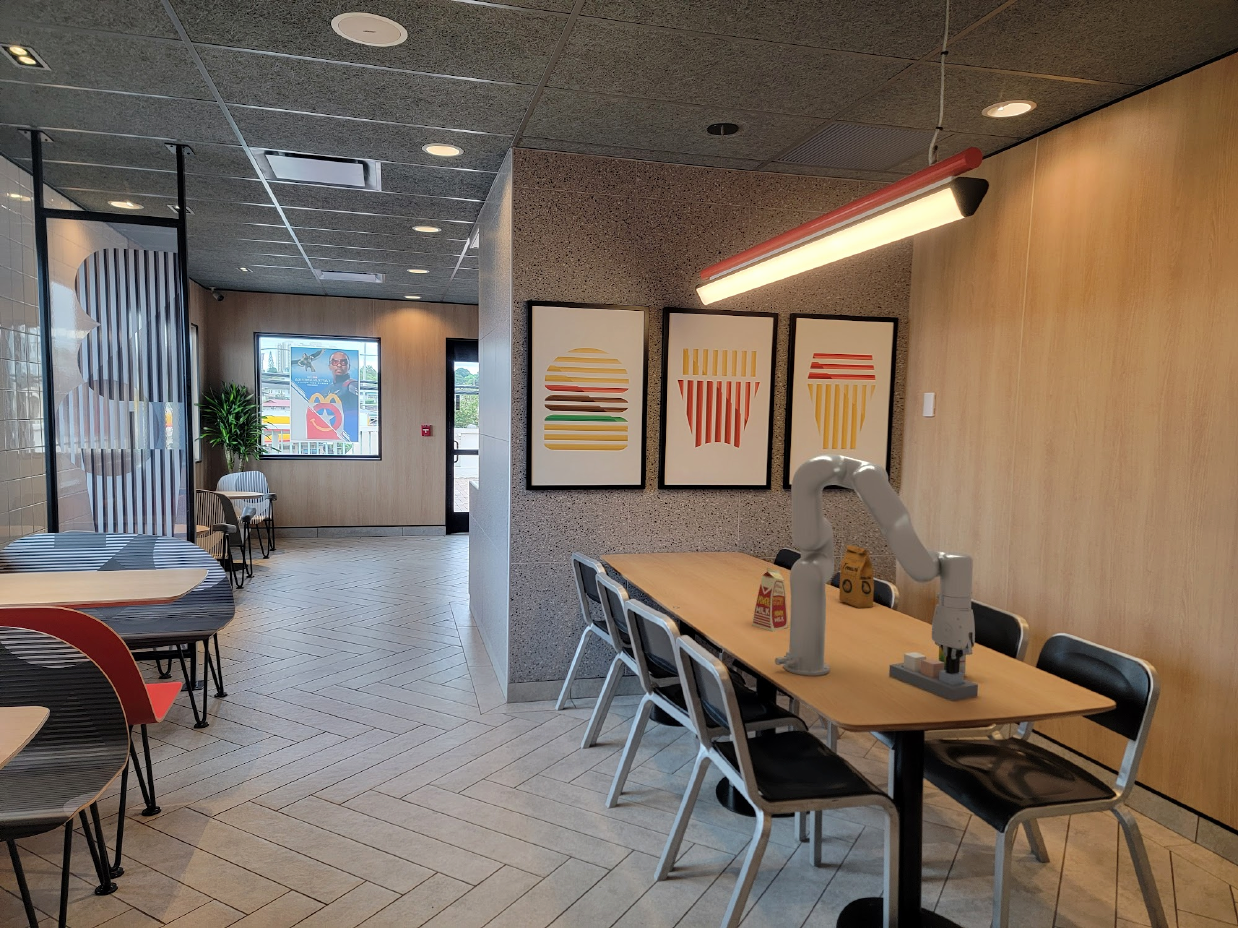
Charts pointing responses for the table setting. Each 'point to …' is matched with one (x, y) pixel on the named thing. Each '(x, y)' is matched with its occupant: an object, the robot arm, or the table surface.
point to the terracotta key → (931, 667)
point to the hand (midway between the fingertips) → (952, 672)
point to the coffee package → (856, 578)
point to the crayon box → (962, 661)
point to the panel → (934, 683)
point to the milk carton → (771, 603)
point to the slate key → (951, 678)
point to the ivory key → (913, 661)
